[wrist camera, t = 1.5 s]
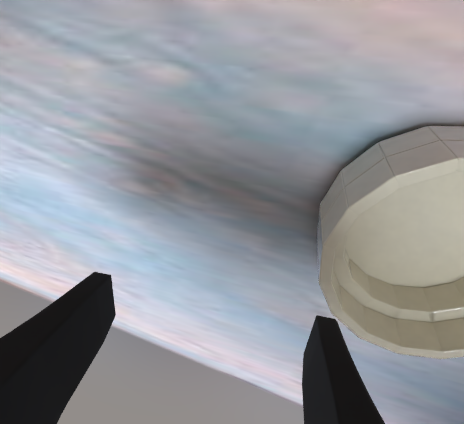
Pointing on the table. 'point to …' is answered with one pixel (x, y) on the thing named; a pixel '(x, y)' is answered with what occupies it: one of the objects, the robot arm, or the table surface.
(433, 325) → the bowl
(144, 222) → the table surface
